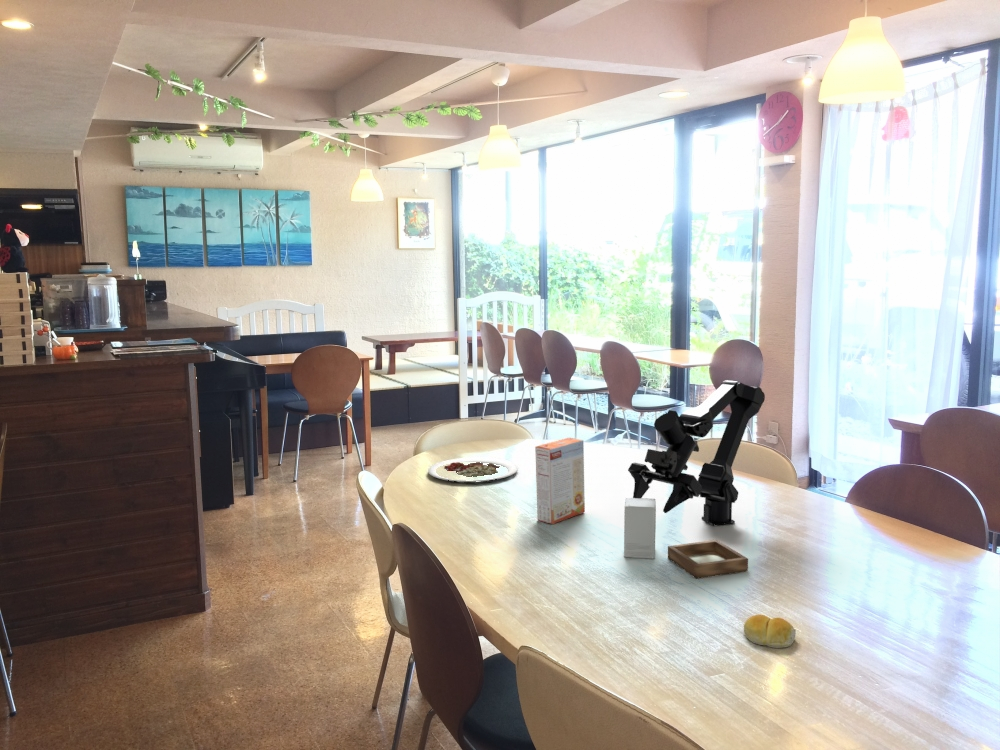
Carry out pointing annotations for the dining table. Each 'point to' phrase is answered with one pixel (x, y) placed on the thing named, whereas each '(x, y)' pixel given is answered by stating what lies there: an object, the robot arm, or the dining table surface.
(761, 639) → the bread roll
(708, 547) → the tray
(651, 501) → the supplement box
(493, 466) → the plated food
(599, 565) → the dining table surface
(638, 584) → the dining table surface
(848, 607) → the dining table surface
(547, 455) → the cracker box
